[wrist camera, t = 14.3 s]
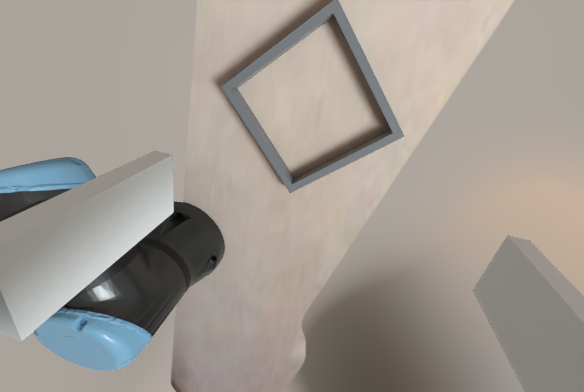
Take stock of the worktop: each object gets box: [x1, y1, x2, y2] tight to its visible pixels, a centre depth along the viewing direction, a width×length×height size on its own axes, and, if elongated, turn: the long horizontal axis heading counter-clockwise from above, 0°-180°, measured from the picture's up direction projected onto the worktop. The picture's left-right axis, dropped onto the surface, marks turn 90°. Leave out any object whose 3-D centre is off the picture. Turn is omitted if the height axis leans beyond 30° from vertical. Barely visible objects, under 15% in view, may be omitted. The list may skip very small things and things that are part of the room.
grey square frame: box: [221, 0, 404, 193], centre depth 37 cm, size 17×17×2 cm
